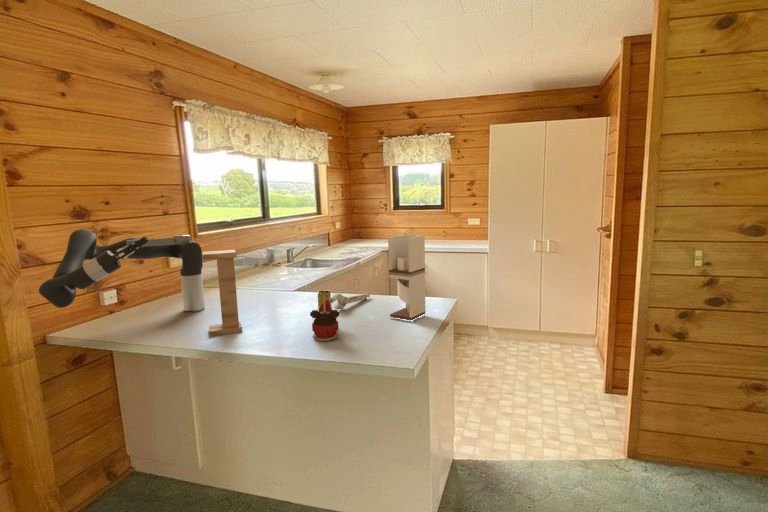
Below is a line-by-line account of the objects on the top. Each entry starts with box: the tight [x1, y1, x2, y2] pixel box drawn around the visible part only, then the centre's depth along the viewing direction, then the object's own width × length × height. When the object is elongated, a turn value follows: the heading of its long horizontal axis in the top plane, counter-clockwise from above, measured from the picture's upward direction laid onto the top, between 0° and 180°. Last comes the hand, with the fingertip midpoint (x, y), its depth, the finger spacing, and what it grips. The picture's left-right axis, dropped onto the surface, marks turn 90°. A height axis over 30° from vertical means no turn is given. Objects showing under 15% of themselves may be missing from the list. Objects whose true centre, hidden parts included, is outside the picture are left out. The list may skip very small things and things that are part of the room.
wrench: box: [333, 293, 371, 311], centre depth 208 cm, size 8×2×30 cm
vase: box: [317, 289, 333, 311], centre depth 176 cm, size 6×6×14 cm
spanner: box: [126, 234, 192, 247], centre depth 160 cm, size 6×21×3 cm, turn 113°
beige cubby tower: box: [387, 233, 426, 320], centre depth 183 cm, size 11×11×35 cm
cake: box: [309, 291, 340, 342], centre depth 161 cm, size 11×9×18 cm
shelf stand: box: [202, 249, 243, 337], centre depth 171 cm, size 9×12×32 cm
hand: (146, 238), depth 158 cm, fingers closed on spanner, 3 cm apart
